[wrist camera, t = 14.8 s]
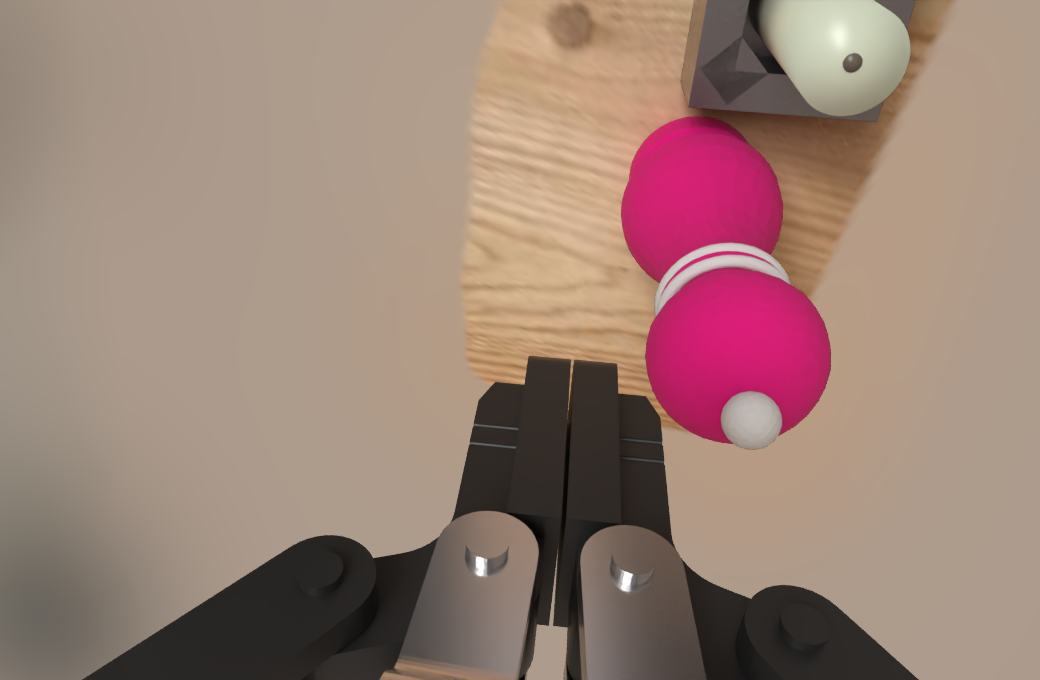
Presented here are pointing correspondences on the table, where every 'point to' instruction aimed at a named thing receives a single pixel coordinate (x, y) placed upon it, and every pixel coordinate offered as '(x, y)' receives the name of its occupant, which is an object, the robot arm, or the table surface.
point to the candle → (835, 50)
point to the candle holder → (747, 64)
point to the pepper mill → (721, 287)
